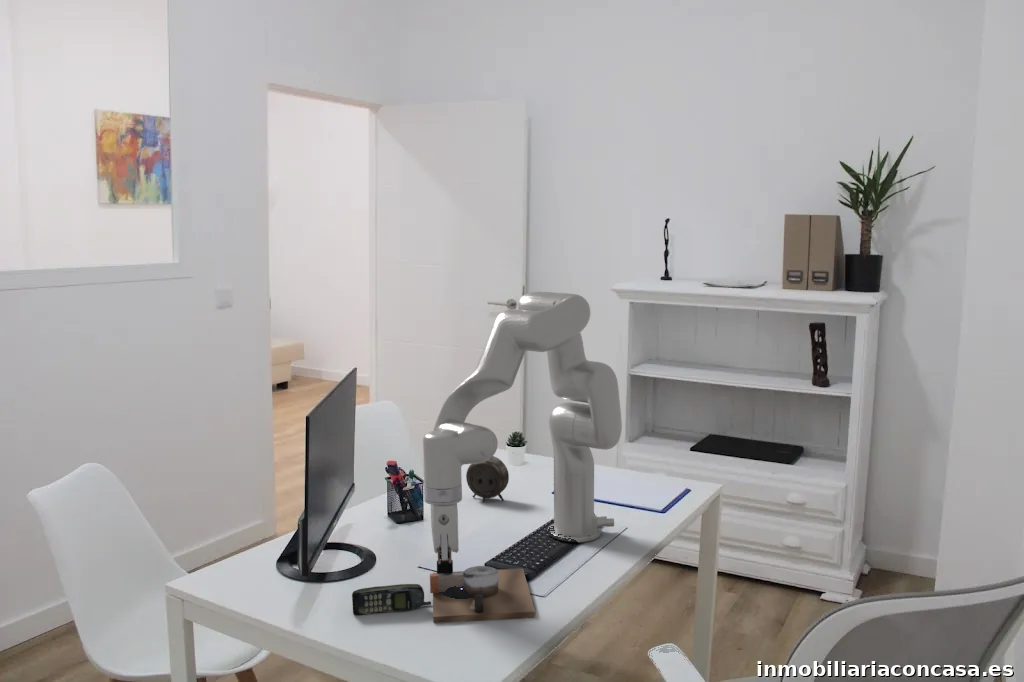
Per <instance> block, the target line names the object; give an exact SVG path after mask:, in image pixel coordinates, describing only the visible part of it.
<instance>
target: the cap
mask: <svg viewBox="0 0 1024 682" xmlns="http://www.w3.org/2000/svg"><path fill="white" fill-rule="evenodd" d="M498 570H499V569H497V568H494V567H492V566H488V565H487V566H486V565H477V566H472V567H468V568H466V569H464V572H462V573H441V574H438V573H437V572H433V573H434V574H433V573H429V587H430V588H429V589H430V591H429V592H430V594H433V593H439V592H445V591H446V590H447V589H448V588H450V587H454V586H456V587H462V586H464V588H465V590H466V591H467V592H468V594H469V595H471V596H475V595H477V594H481V595H483V596H489V595H492V594H495V593H496V592H497V591H498V590H499V585H498Z"/></svg>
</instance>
